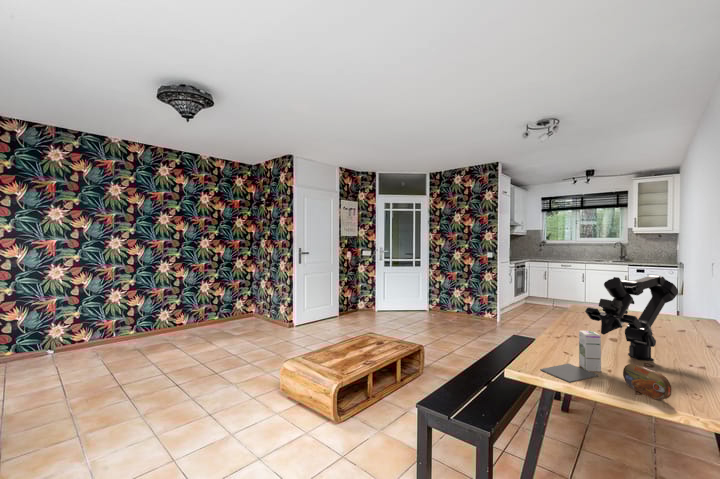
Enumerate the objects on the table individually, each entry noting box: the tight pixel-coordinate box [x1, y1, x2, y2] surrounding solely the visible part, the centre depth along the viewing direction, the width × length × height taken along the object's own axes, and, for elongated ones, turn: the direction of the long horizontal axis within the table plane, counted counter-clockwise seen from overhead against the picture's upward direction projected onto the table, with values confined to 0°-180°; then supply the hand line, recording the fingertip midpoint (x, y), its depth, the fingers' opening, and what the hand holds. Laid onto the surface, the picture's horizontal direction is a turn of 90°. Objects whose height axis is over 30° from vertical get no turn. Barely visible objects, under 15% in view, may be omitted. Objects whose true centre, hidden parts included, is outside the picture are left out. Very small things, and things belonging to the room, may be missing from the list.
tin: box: [622, 363, 672, 401], centre depth 110 cm, size 15×3×8 cm, turn 5°
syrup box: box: [578, 330, 602, 373], centre depth 131 cm, size 6×6×14 cm
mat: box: [539, 363, 600, 383], centre depth 126 cm, size 16×12×1 cm
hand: (602, 333), depth 133 cm, fingers closed
